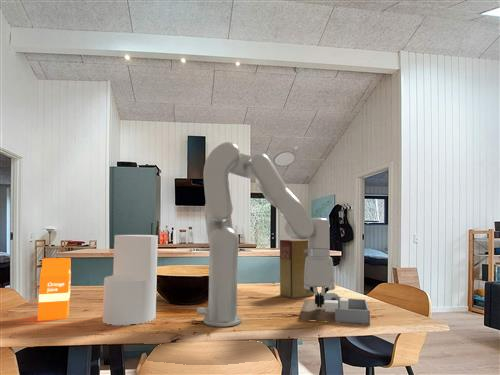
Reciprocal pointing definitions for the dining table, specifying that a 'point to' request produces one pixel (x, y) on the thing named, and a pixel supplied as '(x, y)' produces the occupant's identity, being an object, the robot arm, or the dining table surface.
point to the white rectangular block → (331, 305)
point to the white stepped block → (131, 281)
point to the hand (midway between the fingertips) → (319, 306)
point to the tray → (353, 312)
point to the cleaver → (330, 296)
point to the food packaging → (293, 268)
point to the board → (316, 312)
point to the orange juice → (54, 289)
